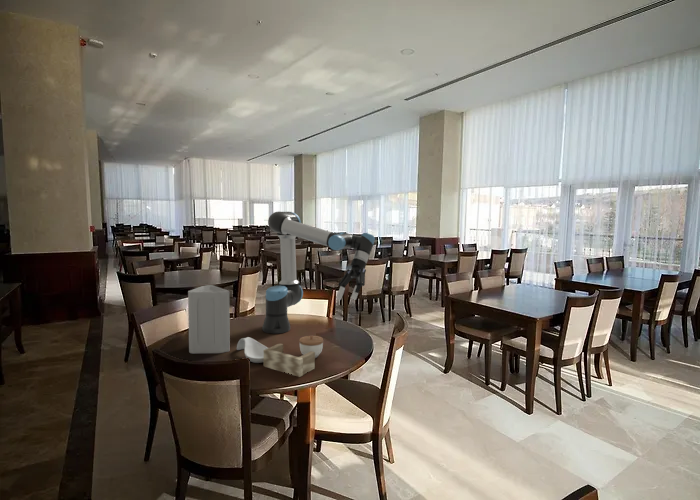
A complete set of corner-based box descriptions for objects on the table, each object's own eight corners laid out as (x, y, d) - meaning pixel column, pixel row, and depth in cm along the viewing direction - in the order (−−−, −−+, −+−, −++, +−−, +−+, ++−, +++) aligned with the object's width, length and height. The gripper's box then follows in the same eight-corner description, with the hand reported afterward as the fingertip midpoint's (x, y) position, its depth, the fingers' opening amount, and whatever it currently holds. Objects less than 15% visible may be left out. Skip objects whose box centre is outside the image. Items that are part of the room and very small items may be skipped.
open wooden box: (263, 366, 160) (263, 350, 159) (279, 358, 168) (279, 343, 168) (299, 377, 150) (299, 359, 149) (314, 368, 159) (314, 352, 158)
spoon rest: (277, 361, 166) (277, 345, 165) (252, 368, 158) (252, 351, 157) (251, 346, 183) (251, 332, 183) (228, 352, 176) (228, 337, 175)
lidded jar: (324, 352, 177) (325, 332, 176) (320, 361, 167) (321, 340, 166) (302, 351, 178) (302, 331, 177) (296, 359, 168) (296, 339, 167)
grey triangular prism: (181, 347, 180) (180, 288, 178) (212, 340, 190) (211, 284, 188) (198, 358, 166) (197, 295, 164) (230, 350, 177) (230, 291, 174)
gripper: (379, 262, 189) (366, 301, 182) (351, 266, 210) (338, 301, 202) (368, 255, 186) (354, 295, 179) (341, 259, 206) (327, 295, 199)
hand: (345, 298), depth 190 cm, fingers open, 13 cm apart
